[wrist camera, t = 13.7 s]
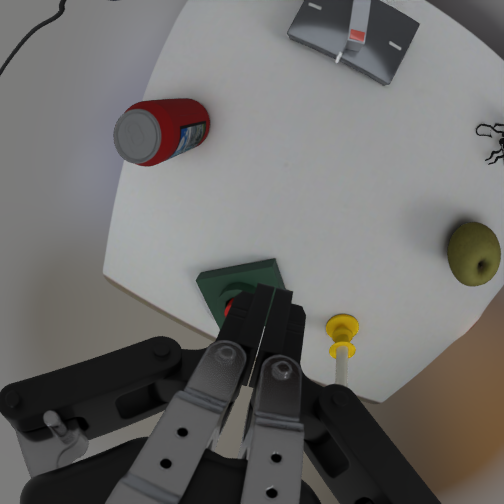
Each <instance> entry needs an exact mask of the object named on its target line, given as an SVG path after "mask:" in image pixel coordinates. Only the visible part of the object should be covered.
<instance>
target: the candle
mask: <svg viewBox="0 0 504 504" xmlns="http://www.w3.org/2000/svg"><path fill="white" fill-rule="evenodd" d="M358 330H359V324H358V321H357V320H356V319H355V318H354V317H353V316H350V315H346V314H340V315H336V316H334V317H332V318H331V319H330V320H329V321H328V322H327V325H326V332H327V334H328V335H329V336H330V337H331V338H332V339H333V341H334V342H335V343H334V344H333V345H332V346H331V347H330V349H329V353H330V355H331V356H332V357H333V358H335V359H336V379H335V384H340V385H343V386H346V387H347V385H348V358H351V357H352V356H353V355H354V354H355V351H356V349H355V346H354V345H353V344H352V343H350V341H351V340H352V338H353V337H354V336H355V335H356V334H357V332H358Z"/></svg>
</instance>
